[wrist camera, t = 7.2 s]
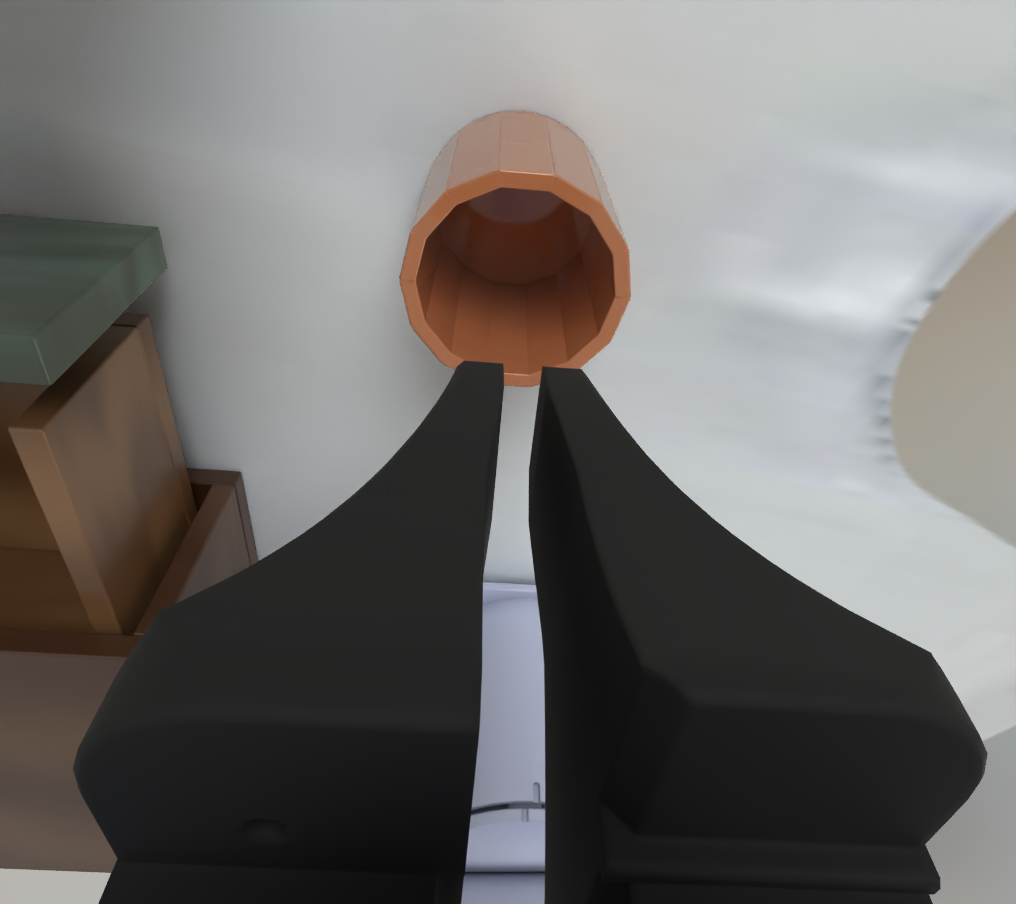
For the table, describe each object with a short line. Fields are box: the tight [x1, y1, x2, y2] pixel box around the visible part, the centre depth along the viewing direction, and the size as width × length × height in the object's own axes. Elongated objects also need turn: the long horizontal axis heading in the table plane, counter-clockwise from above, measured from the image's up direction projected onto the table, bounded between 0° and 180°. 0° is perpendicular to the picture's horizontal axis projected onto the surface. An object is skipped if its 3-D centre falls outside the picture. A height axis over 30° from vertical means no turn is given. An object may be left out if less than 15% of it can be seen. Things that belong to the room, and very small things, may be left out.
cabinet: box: [0, 468, 258, 873], centre depth 26 cm, size 14×12×8 cm
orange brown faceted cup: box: [399, 111, 631, 387], centre depth 17 cm, size 5×5×6 cm
